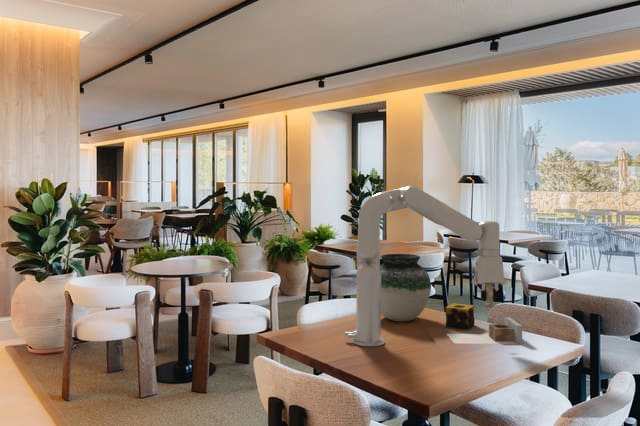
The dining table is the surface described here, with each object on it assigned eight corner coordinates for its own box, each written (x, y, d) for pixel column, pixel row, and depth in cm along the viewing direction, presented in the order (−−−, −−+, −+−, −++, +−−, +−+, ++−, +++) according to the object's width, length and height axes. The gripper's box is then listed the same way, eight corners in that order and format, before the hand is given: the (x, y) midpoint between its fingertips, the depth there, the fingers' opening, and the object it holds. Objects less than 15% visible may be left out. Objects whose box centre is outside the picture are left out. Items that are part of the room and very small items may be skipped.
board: (454, 345, 200) (454, 325, 199) (446, 336, 214) (446, 317, 213) (522, 346, 199) (522, 325, 199) (509, 336, 213) (509, 317, 213)
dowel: (485, 307, 199) (486, 276, 198) (483, 306, 202) (483, 275, 201) (494, 307, 199) (494, 276, 198) (491, 306, 202) (491, 275, 201)
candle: (475, 327, 228) (475, 305, 228) (468, 332, 220) (468, 309, 219) (452, 324, 234) (452, 302, 233) (445, 329, 225) (445, 306, 225)
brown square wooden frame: (494, 341, 203) (494, 328, 202) (488, 336, 210) (488, 324, 210) (513, 341, 202) (514, 328, 202) (507, 336, 210) (507, 324, 210)
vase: (416, 329, 224) (417, 261, 223) (359, 321, 240) (359, 256, 239) (439, 317, 248) (440, 254, 247) (386, 310, 264) (386, 251, 263)
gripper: (470, 254, 196) (470, 302, 197) (513, 254, 196) (513, 302, 196) (465, 252, 204) (465, 298, 204) (507, 252, 203) (507, 298, 204)
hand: (488, 299), depth 200 cm, fingers closed on dowel, 3 cm apart
